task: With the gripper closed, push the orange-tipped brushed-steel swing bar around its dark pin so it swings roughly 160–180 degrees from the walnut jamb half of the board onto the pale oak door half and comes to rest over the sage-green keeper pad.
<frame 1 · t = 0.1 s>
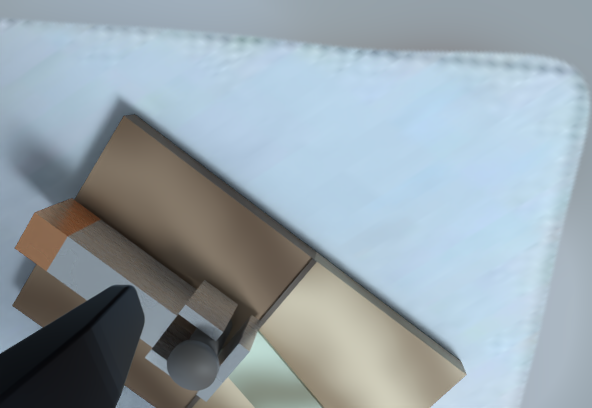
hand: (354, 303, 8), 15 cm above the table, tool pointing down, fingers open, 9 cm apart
door-edge board: (244, 336, 26), on the table
swing bar: (141, 292, 23), point 3 cm above the table, hinge at 0.0°
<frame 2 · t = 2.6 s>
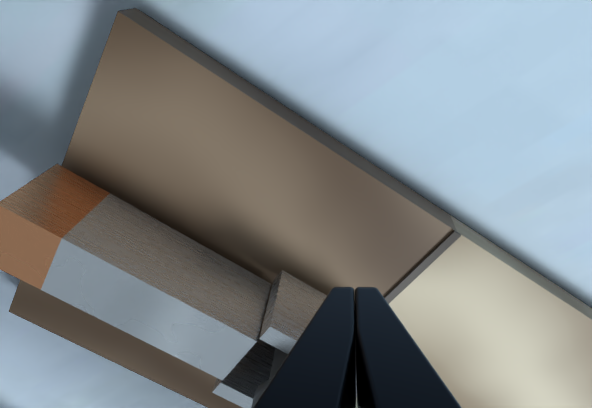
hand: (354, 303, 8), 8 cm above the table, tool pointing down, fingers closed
door-edge board: (335, 328, 19), on the table
swing bar: (192, 300, 15), point 3 cm above the table, hinge at 0.0°
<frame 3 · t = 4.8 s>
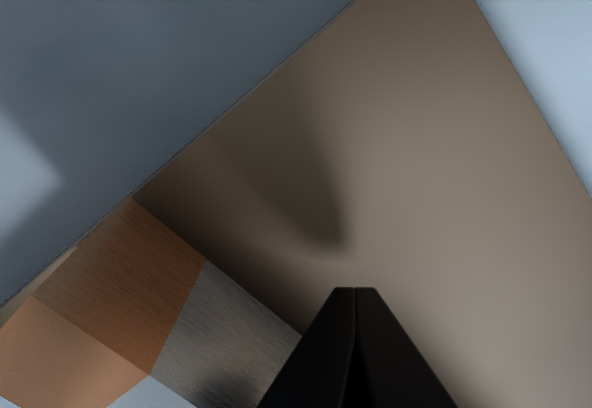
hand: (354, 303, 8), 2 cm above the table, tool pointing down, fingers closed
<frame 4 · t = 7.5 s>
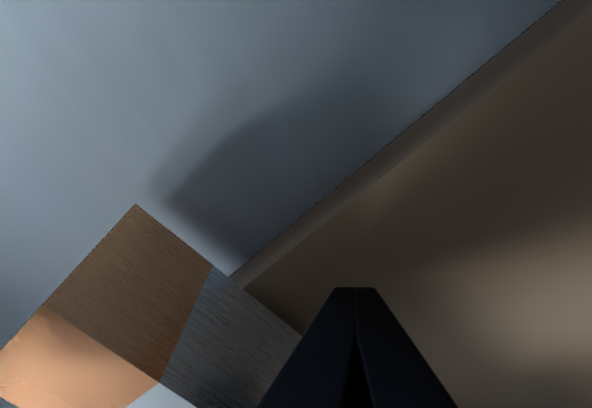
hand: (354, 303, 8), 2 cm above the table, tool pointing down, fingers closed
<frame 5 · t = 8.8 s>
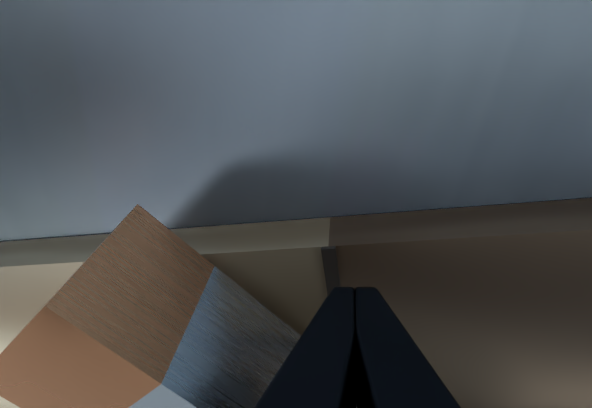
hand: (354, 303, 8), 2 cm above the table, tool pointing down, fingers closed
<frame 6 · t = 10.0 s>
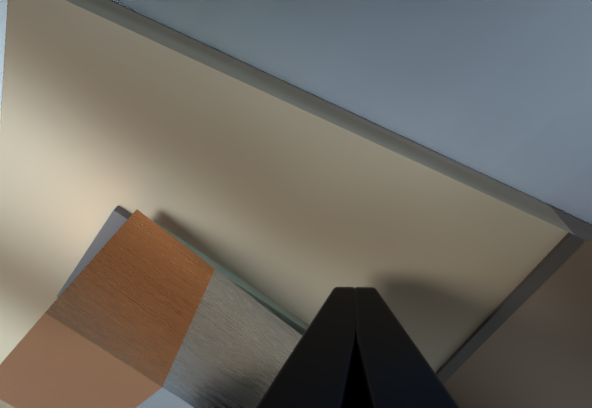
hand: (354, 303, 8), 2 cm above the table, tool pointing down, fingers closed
door-edge board: (378, 397, 13), on the table
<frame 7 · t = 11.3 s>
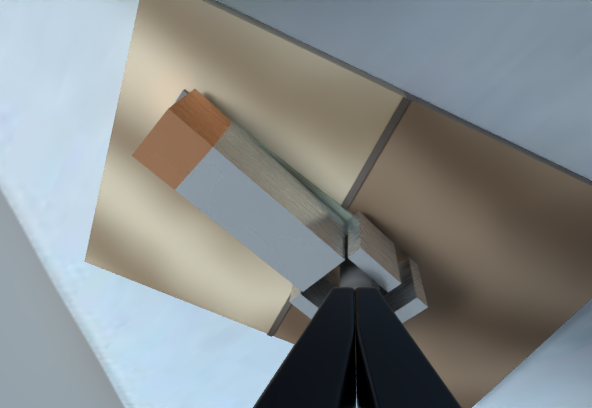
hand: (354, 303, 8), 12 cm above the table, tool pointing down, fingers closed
door-edge board: (327, 224, 21), on the table
swing bar: (286, 223, 18), point 3 cm above the table, hinge at 160.6°
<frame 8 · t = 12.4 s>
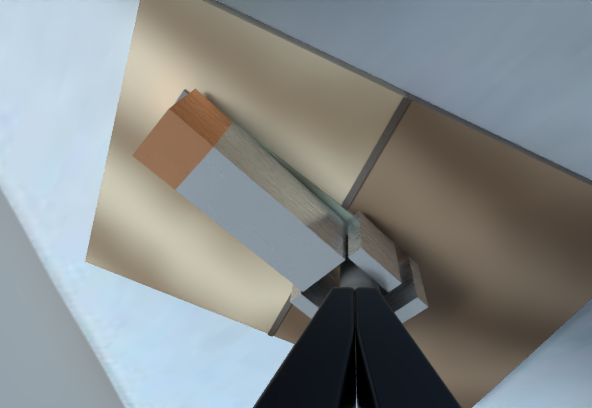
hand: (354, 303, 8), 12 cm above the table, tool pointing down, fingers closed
door-edge board: (327, 224, 21), on the table
swing bar: (286, 223, 18), point 3 cm above the table, hinge at 160.6°
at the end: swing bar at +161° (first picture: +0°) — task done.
